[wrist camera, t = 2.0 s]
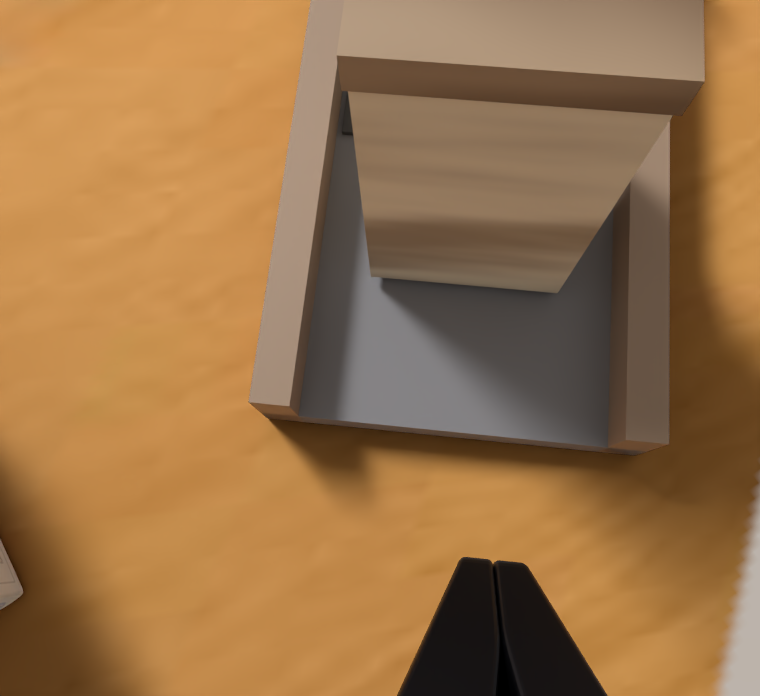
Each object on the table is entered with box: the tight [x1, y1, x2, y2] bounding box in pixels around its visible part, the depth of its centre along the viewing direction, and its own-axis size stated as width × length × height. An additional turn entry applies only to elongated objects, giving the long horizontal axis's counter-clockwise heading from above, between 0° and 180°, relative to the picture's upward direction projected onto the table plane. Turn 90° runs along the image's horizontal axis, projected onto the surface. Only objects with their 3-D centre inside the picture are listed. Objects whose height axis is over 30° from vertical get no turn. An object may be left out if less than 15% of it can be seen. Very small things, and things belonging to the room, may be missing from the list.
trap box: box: [249, 0, 670, 456], centre depth 23 cm, size 21×12×5 cm, turn 174°
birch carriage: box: [336, 0, 705, 293], centre depth 18 cm, size 5×6×11 cm
